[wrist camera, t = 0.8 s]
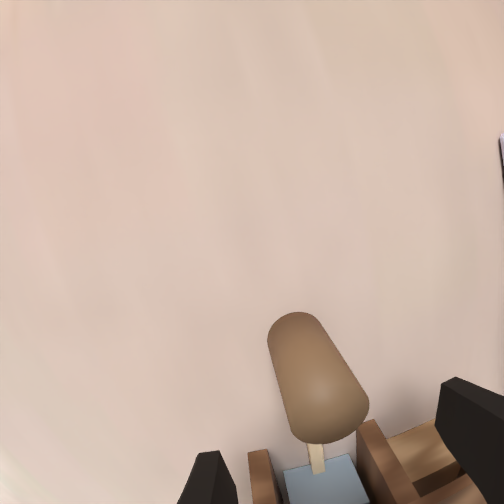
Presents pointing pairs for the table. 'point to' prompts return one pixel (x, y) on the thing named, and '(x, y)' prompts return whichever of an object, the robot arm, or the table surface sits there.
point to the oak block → (425, 458)
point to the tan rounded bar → (317, 409)
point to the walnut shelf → (370, 476)
